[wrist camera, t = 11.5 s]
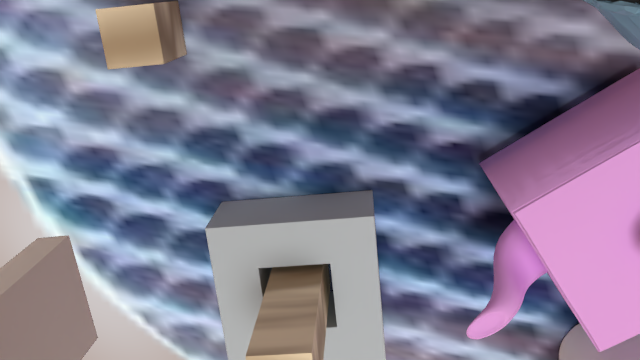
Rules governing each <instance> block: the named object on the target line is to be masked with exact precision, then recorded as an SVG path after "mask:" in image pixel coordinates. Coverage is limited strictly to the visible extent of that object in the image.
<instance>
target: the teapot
mask: <svg viewBox="0 0 640 360" xmlns="http://www.w3.org/2000/svg"><path fill="white" fill-rule="evenodd" d="M479 164H480V166H481V167H482V169H483V170H484V172H485V174H486V175H487V177H488V178H489V180H490V182H491V183H492V185H493V187H494V188H495V190H496V191H497V193H498V195H499V196H500V198H501V199H502V201H503V203H504V204H505V206H506V207H507V209H508V211H509V212H510V214H511V215H512V217H513V219H514V220H513V221H512V222H511V223H510V225H509V226H508V227H507V228H506V229H505V231H504V232H503V233H502V235H501V236H500V237H499V240H498V242H497V244H496V248H495V253H494V288H493V293H492V296H491V299H490V301H489V303H488V304H487V306H486V308H485V309H484V310H483V311H482V312H481V313H480V314H479V315H478V316H477V317H476V318H475V319H474V320H473V321H472V323H471V324H470V325H469V327H468V329H467V336H468V337H469V338H471V339H481V338H484V337H487V336H490V335H492V334H494V333H496V332H497V331H499V330H501V329H502V328H503V327H504V326H506V325H507V324H508V323H509V322H510V321H511V320H512V318H513V317H514V316H515V315H516V313H517V312H518V310H519V309H520V307H521V304H522V302H523V299H524V295H525V292H526V290H527V289H528V287H529V286H530V285H531V284H532V283H533V282H534V281H535V280H537V279H538V278H539V277H540V276H542V275H543V274H545V273H548V275H549V276H550V278H551V280H552V281H553V283H554V284H555V286H556V287H557V289H558V290H559V292H560V293H561V295H562V296H563V298H564V300H565V301H566V303H567V304H568V306H569V307H570V309H571V310H572V312H573V313H574V315H575V317H576V318H577V320H578V321H579V323H580V324H581V326H582V327H583V329H584V330H585V332H586V333H587V335H588V337H589V338H590V340H591V341H592V343H593V344H594V346H595V347H596V349H597V350H598V352H601V351H603V350H606V349H608V348H610V347H612V346H615V345H617V344H619V343H621V342H623V341H625V340H627V339H630V338H632V337H634V336H636V335H638V334H640V68H639V69H637V70H636V71H634V72H632V73H630V74H629V75H627V76H625V77H624V78H622V79H620V80H619V81H617V82H615V83H613V84H612V85H610V86H608V87H607V88H605V89H603V90H602V91H600V92H598V93H596V94H595V95H593V96H591V97H590V98H588V99H586V100H585V101H583V102H581V103H580V104H578V105H576V106H574V107H573V108H571V109H569V110H568V111H566V112H564V113H563V114H561V115H559V116H557V117H556V118H554V119H552V120H551V121H549V122H547V123H546V124H544V125H542V126H541V127H539V128H537V129H536V130H534V131H532V132H530V133H529V134H527V135H525V136H524V137H522V138H520V139H519V140H517V141H515V142H514V143H512V144H510V145H509V146H507V147H505V148H504V149H502V150H500V151H498V152H497V153H495V154H493V155H492V156H490V157H488V158H487V159H485V160H483V161H482V162H480V163H479Z"/></svg>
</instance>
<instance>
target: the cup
mask: <svg viewBox="0 0 640 360" xmlns="http://www.w3.org/2000/svg"><path fill="white" fill-rule="evenodd" d="M559 360H640V334H638V335H636V336H634V337H632V338H630V339H627V340H625V341H623V342H621V343H619V344H617V345H615V346H612V347H610V348H608V349H606V350H603V351H601V352H598V350H597V349H596V347H595V346H594V344H593V343H592V341H591V340H590V338H589V337H588V335H587V333H586V332H585V330H584V329H583V327H582V326H581V324H580V323H579V324H578V325H576V326H575V327H574V328H572V329H571V330H570V331H569V332H568V334H567V335H566V336H565V338H564V339H563V341H562V343H561V346H560V350H559Z"/></svg>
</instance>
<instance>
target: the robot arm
mask: <svg viewBox="0 0 640 360" xmlns="http://www.w3.org/2000/svg"><path fill="white" fill-rule="evenodd" d="M583 1H585V2H587V3H589V4H590V5H592V6H594V7H596V8H597V9H598V10H599V11H600V13H601V14H602V15H603V16H604V17H605V18H606V19H607V20H608V21H609V22H610V23H611V24H612V25H613V26H614V27H615V29H616V30H617V31H618V32H619V33H620V34H621V35H622V36H623V37H624V38H625V39H626V40H627V41H628V42H629V43H631V44H632V45H633V46H635V47H636V48H638V49H640V0H583ZM97 338H98V337H97V334H96V330H95V326H94V323H93V319H92V316H91V312H90V309H89V305H88V302H87V298H86V295H85V291H84V288H83V284H82V281H81V277H80V273H79V270H78V266H77V263H76V259H75V256H74V252H73V249H72V245H71V242H70V238H69V236H58V237H46V238H38V239H36V240H35V241H34V242H33V243H31V244H30V245H29V246H28V247H26V248H25V249H24V250H23V251H21V252H20V253H19V254H18V255H16V256H15V257H14V258H13V259H11V260H10V261H9V262H8V263H6V264H5V265H4V266H3V267H2V268H0V360H82V358H83V357H84V355H85V354H86V353H87V352H88V350H89V349H90V347H91V346H92V345H93V343H94V342H95V341H96V339H97Z"/></svg>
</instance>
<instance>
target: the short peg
mask: <svg viewBox="0 0 640 360" xmlns="http://www.w3.org/2000/svg"><path fill="white" fill-rule="evenodd" d="M95 10H96V14H97V19H98V24H99V29H100V33H101V38H102V43H103V48H104V52H105V57H106V62H107V67H108V69H117V68H127V67H137V66H148V65H158V64H165V63H167V62H170V61H172V60H175V59H177V58H179V57H182V56H184V55H186V54H187V52H186V46H185V40H184V34H183V28H182V22H181V16H180V10H179V4H178V1H170V2H161V3H151V4H142V5H133V6H123V7H114V8H104V9H95Z"/></svg>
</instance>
